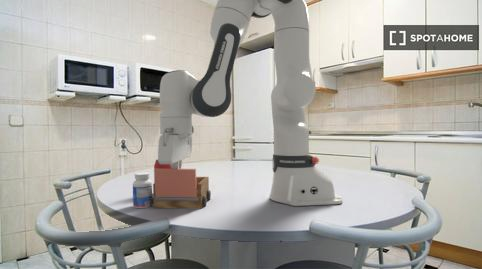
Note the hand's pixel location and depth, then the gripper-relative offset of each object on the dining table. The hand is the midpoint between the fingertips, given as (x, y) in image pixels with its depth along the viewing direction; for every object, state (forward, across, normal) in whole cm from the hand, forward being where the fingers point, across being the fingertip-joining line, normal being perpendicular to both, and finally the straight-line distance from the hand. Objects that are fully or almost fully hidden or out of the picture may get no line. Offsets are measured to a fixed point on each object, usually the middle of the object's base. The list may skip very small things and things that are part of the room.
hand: (176, 176), depth 79 cm
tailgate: (+6, -1, 0) cm, 6 cm away
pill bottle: (+9, +2, +11) cm, 15 cm away
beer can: (+9, +18, +10) cm, 23 cm away
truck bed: (+9, +6, 0) cm, 11 cm away
